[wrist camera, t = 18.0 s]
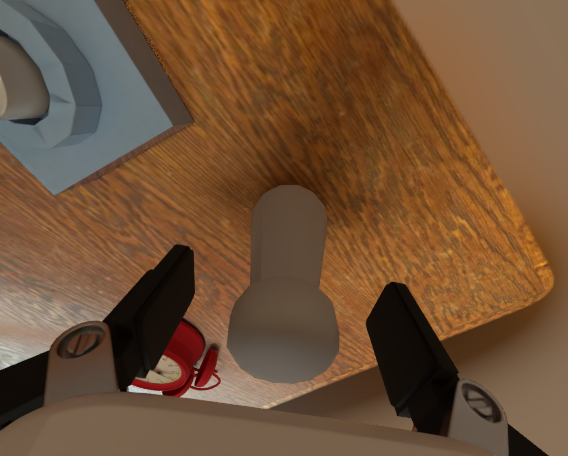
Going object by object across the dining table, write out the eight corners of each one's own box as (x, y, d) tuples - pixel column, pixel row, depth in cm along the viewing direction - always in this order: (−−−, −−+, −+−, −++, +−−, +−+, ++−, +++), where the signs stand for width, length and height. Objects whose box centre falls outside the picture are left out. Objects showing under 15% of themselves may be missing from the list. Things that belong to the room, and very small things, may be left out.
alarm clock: (123, 320, 21) (223, 419, 24) (167, 284, 27) (244, 366, 29) (76, 356, 25) (166, 439, 27) (124, 317, 31) (195, 389, 33)
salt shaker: (313, 243, 20) (335, 413, 9) (252, 231, 20) (197, 393, 9) (332, 183, 18) (397, 325, 6) (262, 169, 17) (198, 289, 6)
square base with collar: (83, -67, 12) (-44, -171, 7) (194, 122, 16) (156, 128, 12) (-32, 46, 14) (-176, 19, 10) (90, 182, 19) (26, 205, 14)
